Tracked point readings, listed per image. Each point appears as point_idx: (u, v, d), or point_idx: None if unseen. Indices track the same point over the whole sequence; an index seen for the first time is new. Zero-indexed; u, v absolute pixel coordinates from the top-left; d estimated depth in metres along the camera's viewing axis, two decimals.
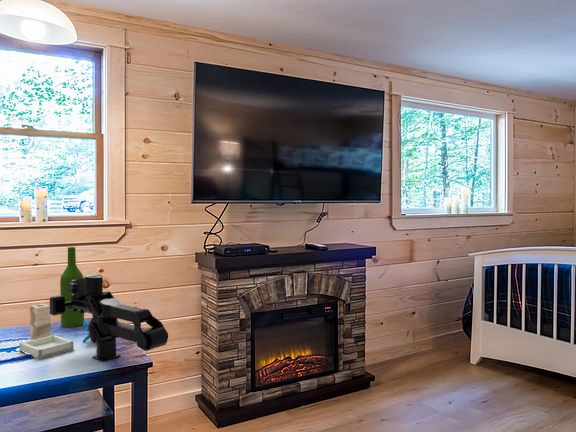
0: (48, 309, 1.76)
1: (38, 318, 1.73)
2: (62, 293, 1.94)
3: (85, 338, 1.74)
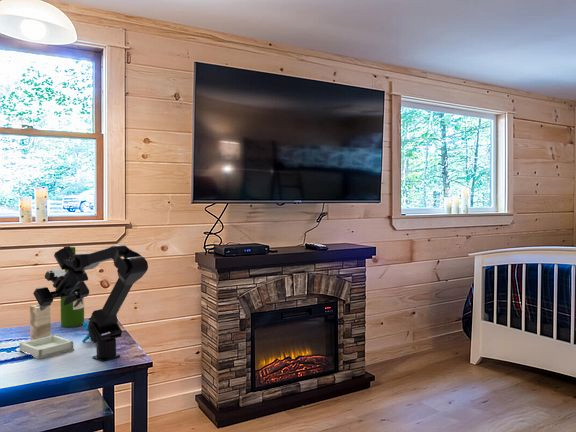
0: (48, 309, 1.76)
1: (38, 318, 1.73)
2: None
3: (85, 338, 1.74)
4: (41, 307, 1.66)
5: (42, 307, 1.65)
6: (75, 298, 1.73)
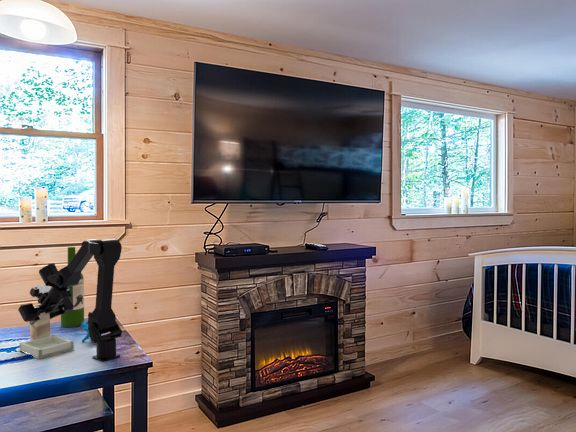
0: None
1: None
2: None
3: (84, 338, 1.74)
4: (31, 321, 1.73)
5: (32, 321, 1.72)
6: (56, 314, 1.76)
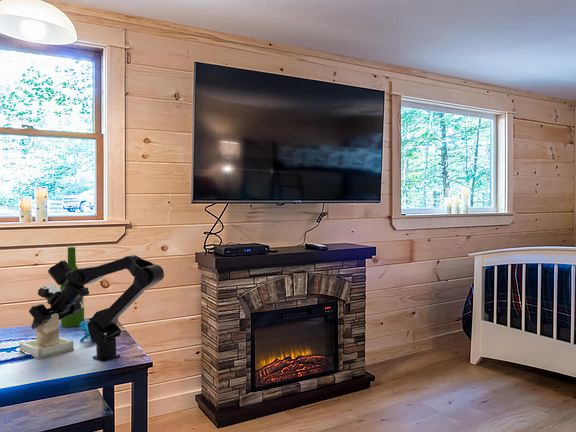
0: (57, 314, 1.65)
1: (48, 324, 1.61)
2: None
3: (82, 338, 1.74)
4: (34, 325, 1.58)
5: (36, 325, 1.58)
6: (67, 314, 1.67)
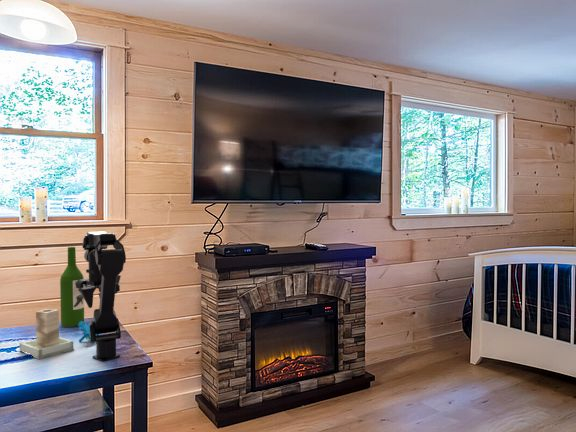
0: (57, 314, 1.65)
1: (48, 324, 1.61)
2: (62, 293, 1.94)
3: (81, 338, 1.74)
4: None
5: None
6: None
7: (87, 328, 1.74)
